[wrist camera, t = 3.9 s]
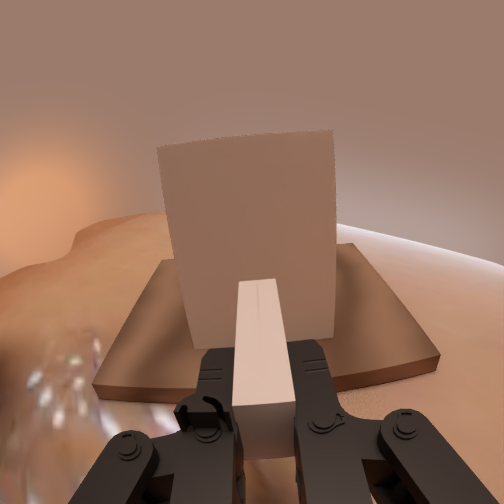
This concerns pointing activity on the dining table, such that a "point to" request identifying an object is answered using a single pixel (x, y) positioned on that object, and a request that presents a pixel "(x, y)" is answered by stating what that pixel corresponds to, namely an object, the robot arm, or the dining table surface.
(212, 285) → the tile
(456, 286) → the dining table surface
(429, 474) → the robot arm
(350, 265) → the board
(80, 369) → the dining table surface
